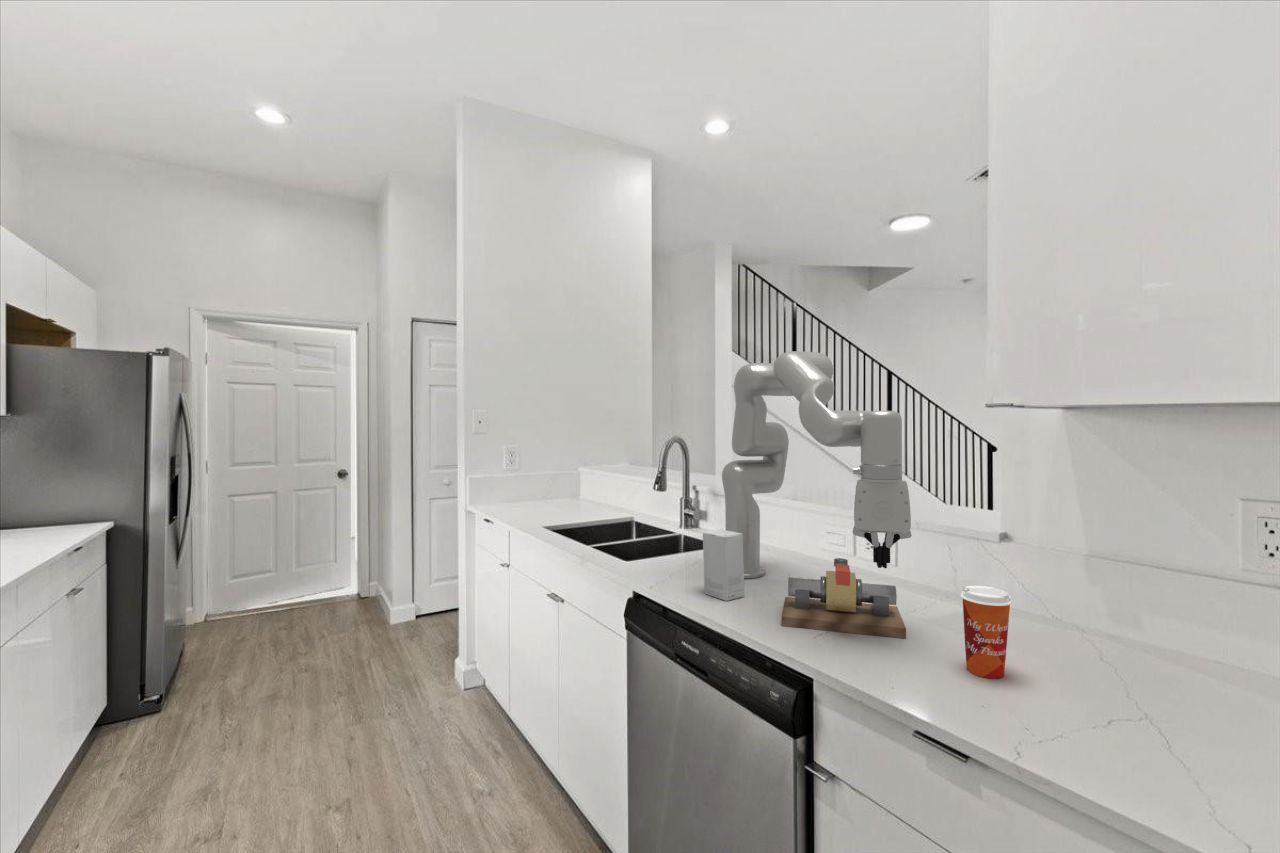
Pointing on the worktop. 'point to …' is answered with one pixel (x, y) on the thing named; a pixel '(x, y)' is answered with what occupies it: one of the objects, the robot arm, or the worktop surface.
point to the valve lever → (842, 572)
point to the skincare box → (723, 564)
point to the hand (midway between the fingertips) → (881, 566)
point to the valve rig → (843, 607)
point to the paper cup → (986, 630)
